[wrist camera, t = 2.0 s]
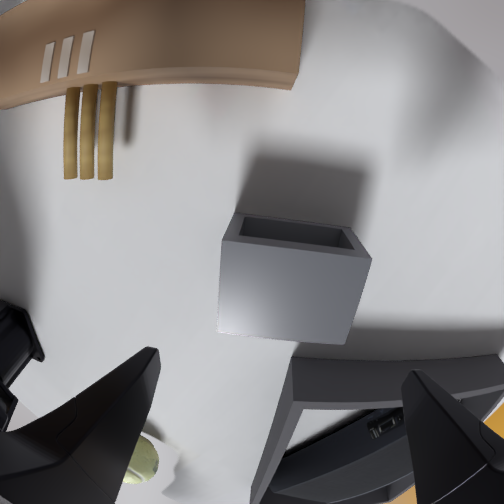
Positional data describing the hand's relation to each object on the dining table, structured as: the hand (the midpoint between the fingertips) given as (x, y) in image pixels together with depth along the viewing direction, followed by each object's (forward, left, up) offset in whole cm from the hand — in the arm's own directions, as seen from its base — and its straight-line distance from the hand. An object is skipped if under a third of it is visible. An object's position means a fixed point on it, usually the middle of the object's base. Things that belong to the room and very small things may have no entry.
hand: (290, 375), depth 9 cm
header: (+10, +11, -8) cm, 17 cm away
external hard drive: (-21, -12, -8) cm, 26 cm away
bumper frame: (-21, -12, -8) cm, 26 cm away
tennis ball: (-25, +13, -9) cm, 29 cm away
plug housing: (0, 0, -9) cm, 9 cm away
